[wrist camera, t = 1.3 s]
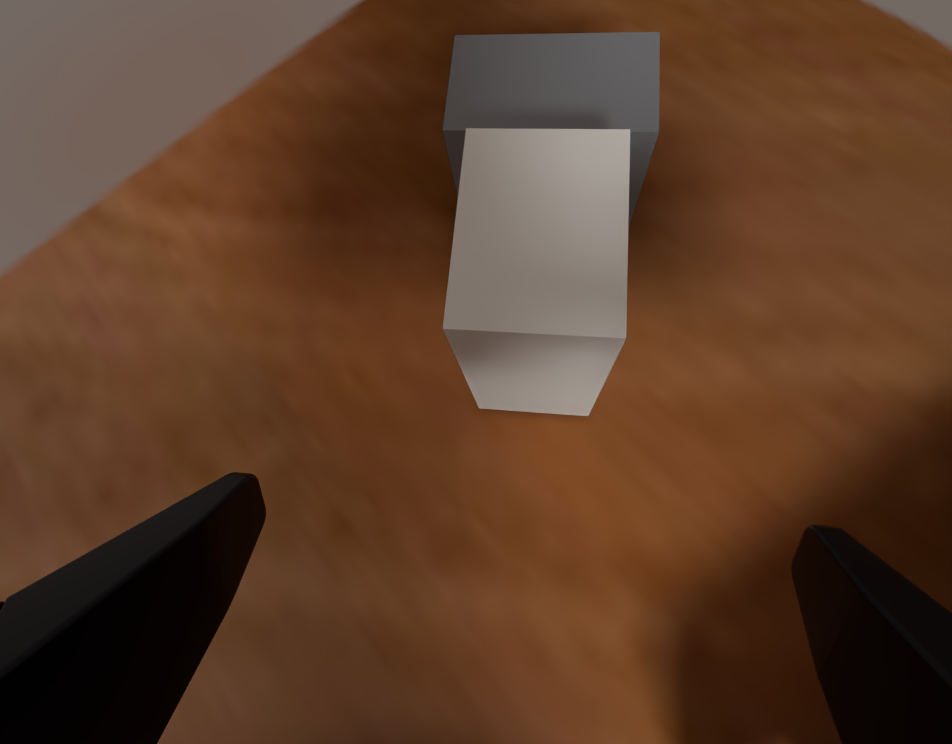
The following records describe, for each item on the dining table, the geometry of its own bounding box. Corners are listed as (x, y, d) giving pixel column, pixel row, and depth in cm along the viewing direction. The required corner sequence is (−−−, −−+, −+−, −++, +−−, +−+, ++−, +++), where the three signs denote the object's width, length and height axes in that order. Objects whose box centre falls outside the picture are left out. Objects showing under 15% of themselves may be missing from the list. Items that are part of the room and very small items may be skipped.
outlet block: (622, 248, 24) (659, 131, 17) (468, 243, 25) (442, 130, 18) (624, 171, 25) (659, 32, 18) (476, 169, 26) (455, 35, 19)
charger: (588, 416, 22) (625, 338, 13) (479, 408, 23) (442, 328, 14) (596, 192, 25) (633, -1, 16) (499, 190, 25) (480, 3, 16)
